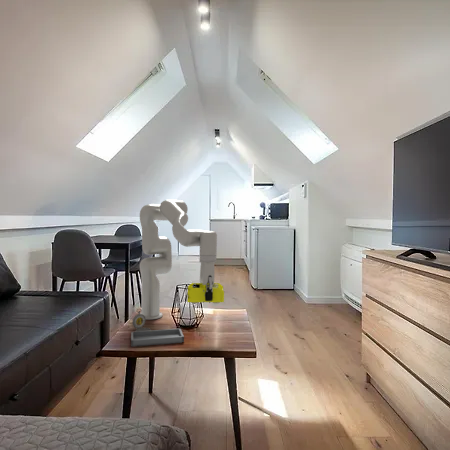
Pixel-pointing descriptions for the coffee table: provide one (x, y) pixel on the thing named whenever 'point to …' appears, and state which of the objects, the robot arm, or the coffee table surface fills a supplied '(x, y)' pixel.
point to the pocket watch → (138, 319)
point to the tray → (156, 337)
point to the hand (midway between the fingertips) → (207, 298)
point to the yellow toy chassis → (199, 290)
